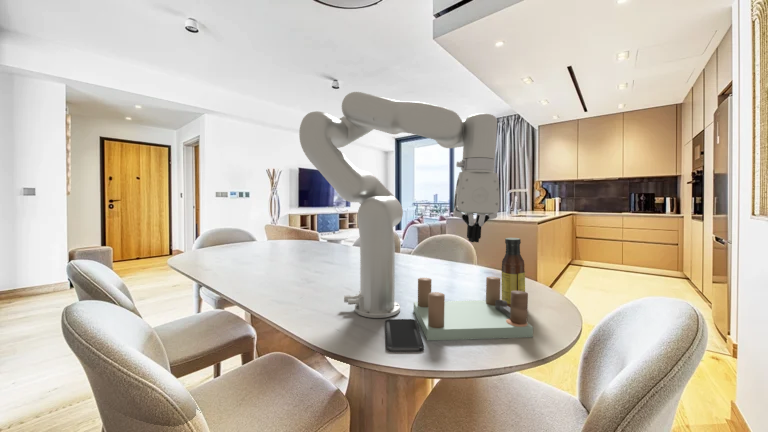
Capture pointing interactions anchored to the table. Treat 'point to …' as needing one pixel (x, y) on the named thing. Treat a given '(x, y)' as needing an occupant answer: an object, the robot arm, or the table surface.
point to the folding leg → (515, 307)
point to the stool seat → (465, 315)
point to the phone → (403, 336)
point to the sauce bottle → (512, 270)
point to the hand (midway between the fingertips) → (473, 241)
